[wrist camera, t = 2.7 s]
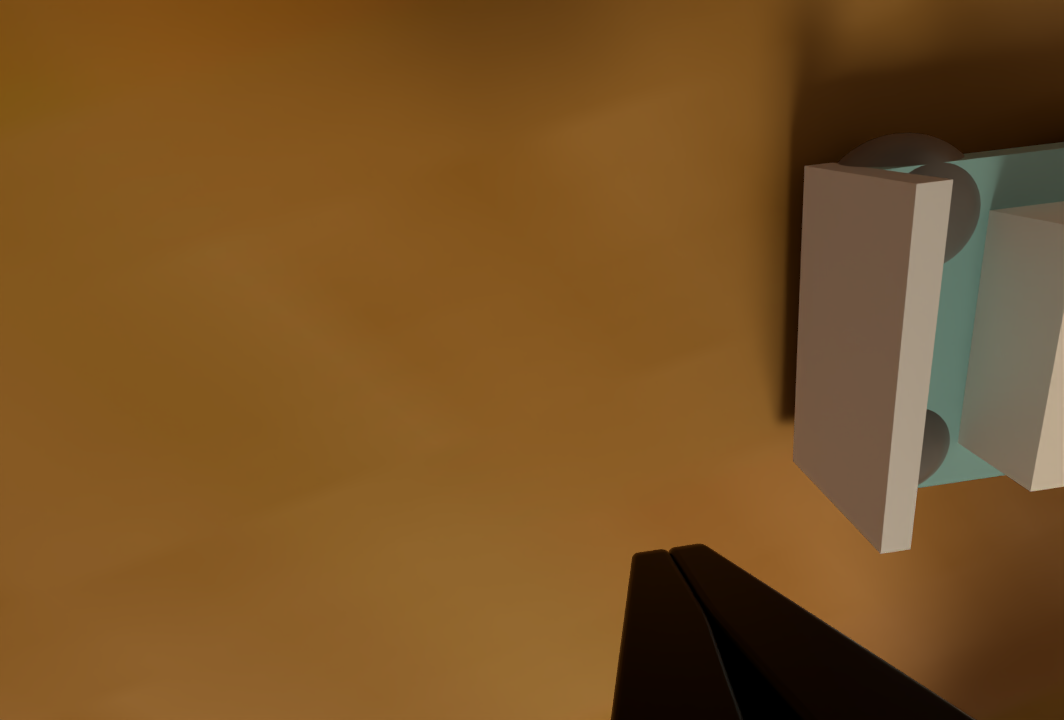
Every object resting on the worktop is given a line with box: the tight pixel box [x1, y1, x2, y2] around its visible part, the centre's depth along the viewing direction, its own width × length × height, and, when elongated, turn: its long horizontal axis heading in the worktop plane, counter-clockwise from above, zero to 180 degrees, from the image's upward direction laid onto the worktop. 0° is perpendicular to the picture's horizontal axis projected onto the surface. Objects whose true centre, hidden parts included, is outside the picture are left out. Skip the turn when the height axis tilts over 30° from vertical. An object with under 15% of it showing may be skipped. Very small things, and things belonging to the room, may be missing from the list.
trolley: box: [793, 133, 1064, 554], centre depth 14 cm, size 8×8×5 cm
